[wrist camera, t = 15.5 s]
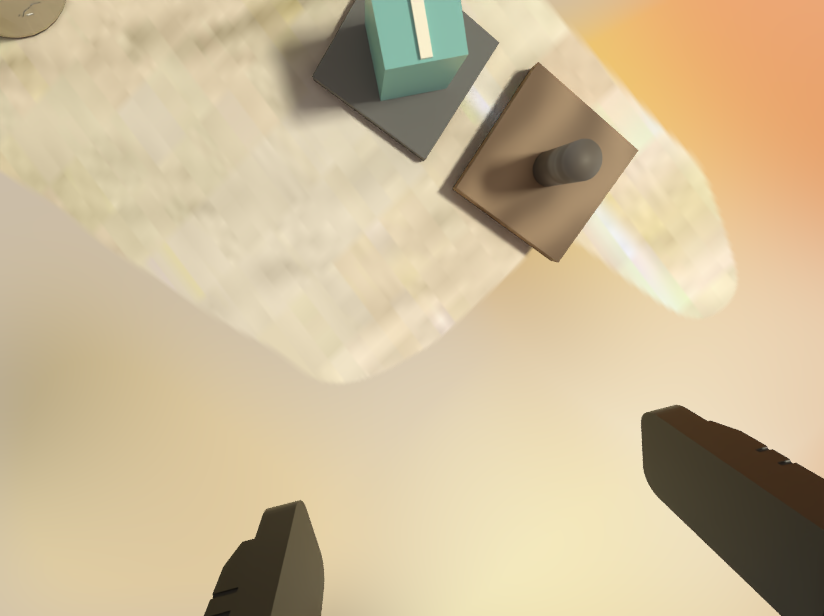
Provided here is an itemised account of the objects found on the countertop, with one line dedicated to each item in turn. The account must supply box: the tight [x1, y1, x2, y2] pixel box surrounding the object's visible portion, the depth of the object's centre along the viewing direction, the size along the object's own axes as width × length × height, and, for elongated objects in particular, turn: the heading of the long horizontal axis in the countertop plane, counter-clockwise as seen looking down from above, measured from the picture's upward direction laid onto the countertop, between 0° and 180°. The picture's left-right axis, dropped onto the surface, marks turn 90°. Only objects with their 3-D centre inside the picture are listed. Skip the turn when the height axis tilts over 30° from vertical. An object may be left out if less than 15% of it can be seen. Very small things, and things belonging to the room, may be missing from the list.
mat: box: [312, 0, 499, 161], centre depth 31 cm, size 11×11×1 cm
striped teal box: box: [365, 0, 468, 101], centre depth 27 cm, size 6×6×7 cm
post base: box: [453, 62, 638, 262], centre depth 32 cm, size 12×12×7 cm
